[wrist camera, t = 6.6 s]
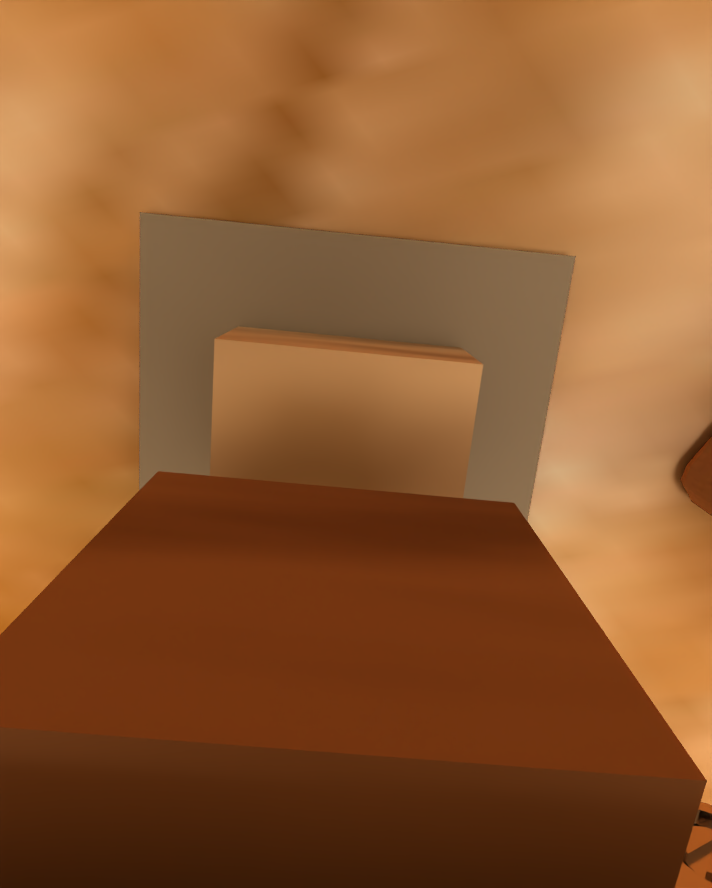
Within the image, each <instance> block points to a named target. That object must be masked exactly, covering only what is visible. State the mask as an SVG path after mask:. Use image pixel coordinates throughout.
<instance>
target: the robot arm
mask: <svg viewBox="0 0 712 888" xmlns="http://www.w3.org/2000/svg"><path fill="white" fill-rule="evenodd" d="M675 888H712V805H710V804H707V803H703V802H700V805H699V808H698V812H697V815H696V818H695V822H694V825H693V829H692V832H691V835H690V839H689V842H688V845H687V849H686V852H685V855H684V859H683V862H682V865H681V869H680V872H679V875H678V879H677V882H676V885H675Z"/></svg>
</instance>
